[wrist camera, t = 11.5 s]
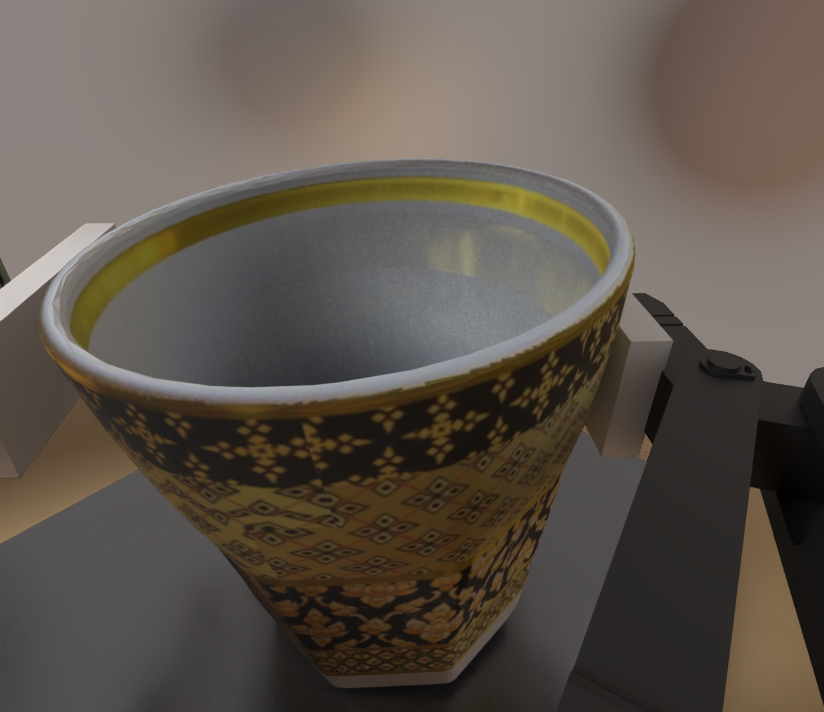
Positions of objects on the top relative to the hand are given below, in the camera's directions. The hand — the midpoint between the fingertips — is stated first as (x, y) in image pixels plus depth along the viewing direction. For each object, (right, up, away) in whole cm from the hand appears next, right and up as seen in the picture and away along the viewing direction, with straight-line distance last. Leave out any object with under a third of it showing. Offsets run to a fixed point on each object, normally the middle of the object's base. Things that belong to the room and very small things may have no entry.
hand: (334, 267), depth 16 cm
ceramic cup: (+1, -8, +1) cm, 8 cm away
